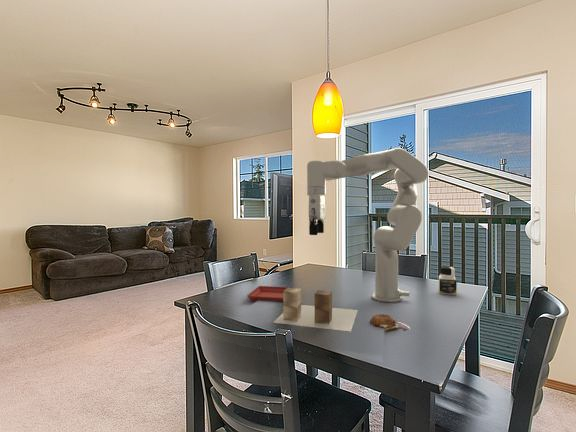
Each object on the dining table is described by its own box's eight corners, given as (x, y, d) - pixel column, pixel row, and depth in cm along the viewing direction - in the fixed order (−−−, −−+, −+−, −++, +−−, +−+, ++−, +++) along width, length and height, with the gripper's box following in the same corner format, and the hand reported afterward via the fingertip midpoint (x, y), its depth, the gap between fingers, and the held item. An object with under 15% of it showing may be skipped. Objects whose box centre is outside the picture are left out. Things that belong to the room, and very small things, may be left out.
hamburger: (386, 340, 100) (386, 320, 100) (359, 324, 113) (359, 307, 113) (420, 332, 106) (420, 314, 106) (390, 318, 119) (390, 302, 119)
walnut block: (331, 319, 113) (332, 291, 113) (329, 324, 108) (329, 294, 108) (317, 318, 114) (317, 290, 114) (314, 323, 110) (314, 293, 109)
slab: (357, 313, 124) (357, 310, 124) (350, 335, 103) (350, 331, 103) (292, 306, 131) (292, 303, 131) (273, 326, 110) (273, 322, 110)
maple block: (301, 316, 116) (301, 288, 116) (297, 321, 112) (297, 292, 111) (287, 315, 118) (287, 287, 117) (283, 319, 113) (283, 291, 113)
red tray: (258, 292, 155) (258, 285, 155) (296, 294, 152) (296, 287, 152) (246, 303, 138) (246, 295, 137) (288, 306, 134) (288, 298, 134)
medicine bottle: (439, 293, 151) (439, 267, 151) (438, 289, 158) (438, 265, 158) (456, 295, 149) (456, 268, 148) (455, 291, 155) (455, 266, 155)
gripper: (320, 190, 123) (320, 236, 124) (330, 192, 139) (330, 232, 140) (301, 191, 126) (301, 235, 126) (313, 192, 142) (313, 232, 142)
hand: (316, 233), depth 133 cm, fingers open, 9 cm apart
